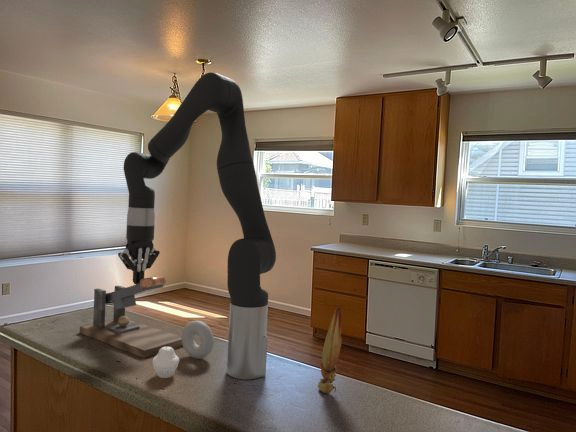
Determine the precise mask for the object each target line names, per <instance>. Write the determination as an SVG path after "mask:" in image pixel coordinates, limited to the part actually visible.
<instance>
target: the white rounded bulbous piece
mask: <svg viewBox="0 0 576 432" xmlns="http://www.w3.org/2000/svg"><path fill="white" fill-rule="evenodd" d="M179 363H180V358H179V356H178V355H176V353H175V348H174V349H173V348H172V347H167V346H166V347H162V348H161V349H160V350H159V353H158V354H156V355H154V357H153V359H152V366H153V368H154V371H155V372H156V374H157V377H159V378H161V379H168V378H171V377H173V375H174V373H175V371H176V370H177V368H178V365H179Z"/></svg>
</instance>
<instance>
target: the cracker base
mask: <svg viewBox="0 0 576 432" xmlns="http://www.w3.org/2000/svg"><path fill="white" fill-rule="evenodd" d="M124 288H127V286H121V285H115V286H114V291H117V290H121V289H124ZM93 292H94V294H93V315H92V316H93V318H92V319H93V322H92V323H88V324H84V325H80V326H79V334H82V335H85V336H87V337H89V338H92V339H94V340H97V341H99V340H100V342H103V343H104V342H105V344H108V345H110V346H113V347H115V348H117V349H120V350H123V351H126V352H128V353H130V354H133V355H135V356H138V357H140V358H143V359H145V358H148V357H151V356H152V357H153V356H156V355H157V354H158V353H159V350H160V349H161V348H162V347H166V346H167V347H172V348H173V349H174V350H175V349H178V348H181V347H183V344H182V338H181V337H182V335H181V336H180V335H177V334H174V333H171V332H168V331H165V330H162V329H159V328H156V327H153V326H149V325H147V324H143V323H141V322H138V321H137V322H136V321H134V320H131V319H130V318H129V317H128V316H126V308H122V309H117V310H116V309H115V303H113V318H111V319H106V305H107V304H106V293H107V290H104V289H102V288H94V290H93Z"/></svg>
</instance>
